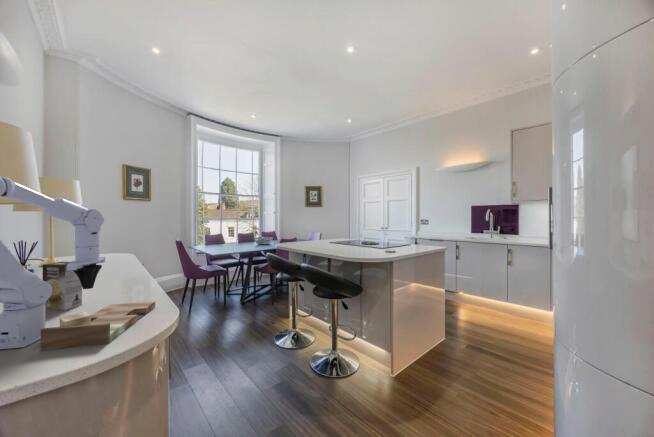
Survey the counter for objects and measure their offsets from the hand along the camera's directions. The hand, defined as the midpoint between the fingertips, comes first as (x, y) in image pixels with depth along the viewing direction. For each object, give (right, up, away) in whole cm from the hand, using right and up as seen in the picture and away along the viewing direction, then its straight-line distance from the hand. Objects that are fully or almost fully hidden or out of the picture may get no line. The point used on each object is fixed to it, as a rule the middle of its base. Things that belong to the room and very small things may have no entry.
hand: (88, 288), depth 83 cm
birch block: (+11, -7, -15) cm, 20 cm away
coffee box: (-19, -10, +10) cm, 23 cm away
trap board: (+12, -9, -6) cm, 16 cm away
